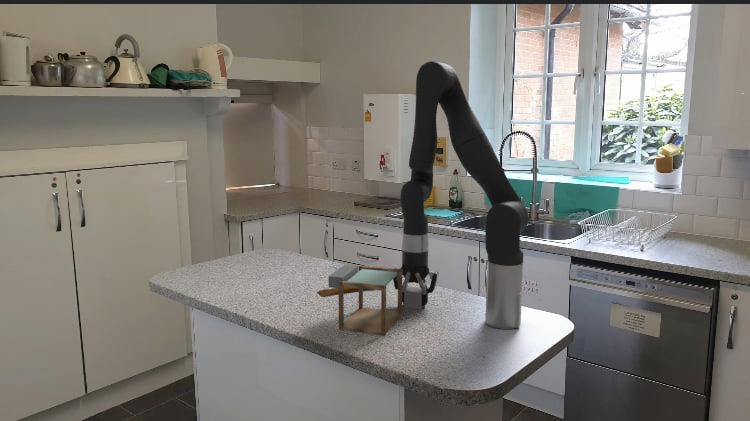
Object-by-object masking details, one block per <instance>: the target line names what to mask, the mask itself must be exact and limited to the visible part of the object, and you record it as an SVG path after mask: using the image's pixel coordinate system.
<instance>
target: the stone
mask: <svg viewBox="0 0 750 421" xmlns="http://www.w3.org/2000/svg"><path fill="white" fill-rule="evenodd" d="M422 294H423V292H422V290H421V287H420V286H419V287H418V286H409V285H408V287H407V289H406V290H405V291H404V304H403V309H409V310H410V309H412V310H422V309H423V307H424V306H422Z"/></svg>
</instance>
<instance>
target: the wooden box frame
mask: <svg viewBox="0 0 750 421" xmlns="http://www.w3.org/2000/svg"><path fill="white" fill-rule="evenodd" d="M362 269H370V270H381V271H392V272H397V274H398V290H397V310H387V286H386V285H377V284H367V283H357V282H347V281H339V282H338V287H339V294H338V330H339V331H347V332H356V333H361V334H370V335H377V336H386V335H387V334H388V332H389V331H390V330H391V328H392V327H393V326H394V324H395V323H397V321H398V320H399V318H400V317H401V316H402V315H403V302H402V285H403V274H402V269H398V268H397V269H394V268H391V267H382V266H381V267H379V266H372V265H371V266H369V265H368V266H367V265H358V272H359V271H360V270H362ZM344 287H350V288H359V291H358V308H357V309H356V310H355V311H354V312H353V313H352V314H351V315H350V316H349V317H348V318H347V319H345V317H344V315H345V314H344V311H345V310H344V309H345V307H344V294H345V293H344ZM363 289H366V290H371V291H380V294H381V295H380V297H381V298H380V299H381V300H380V301H381V302H380V303H381V307H380V308H372V307H371V308H370V307H364V290H363ZM344 319H345V320H344Z"/></svg>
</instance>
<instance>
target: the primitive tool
mask: <svg viewBox="0 0 750 421" xmlns="http://www.w3.org/2000/svg"><path fill="white" fill-rule="evenodd" d="M365 290H367V289H363V291H365ZM354 292H359V288H350V287H344V294H348V293H354ZM317 294H318V295H319V296H320V297H322V298H325V297H331V296H336V295H339V288H325V289H321V290H319V291H317Z"/></svg>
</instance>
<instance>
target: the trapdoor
mask: <svg viewBox="0 0 750 421" xmlns="http://www.w3.org/2000/svg"><path fill="white" fill-rule="evenodd" d="M396 276H397V272H392V271H381V270H370V269H362V270H360V271H359V265H352V264H344V265H342V266H341V267H339V268H338V269H337V270H335V271H334V272H332V273H331V274H329V275H328V288H331V289H333V288H339V287H338V282H339V281H347V282H357V283H367V284H377V285H386V287H387V286H388V285H389V284H390V283H391V281H393V279H394V278H395V277H396Z"/></svg>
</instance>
